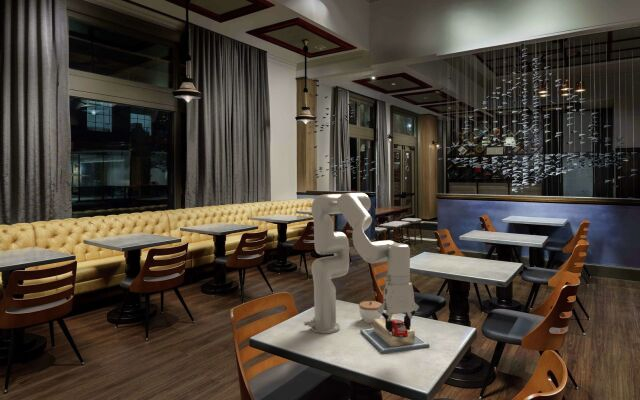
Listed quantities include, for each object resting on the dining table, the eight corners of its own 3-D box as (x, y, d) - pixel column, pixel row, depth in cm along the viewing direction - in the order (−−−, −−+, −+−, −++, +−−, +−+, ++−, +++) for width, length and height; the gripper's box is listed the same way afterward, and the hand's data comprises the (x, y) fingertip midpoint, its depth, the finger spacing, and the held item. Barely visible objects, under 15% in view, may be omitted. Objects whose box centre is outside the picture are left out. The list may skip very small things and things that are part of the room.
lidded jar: (357, 324, 175) (357, 303, 175) (360, 316, 186) (360, 297, 185) (381, 325, 173) (381, 305, 173) (383, 317, 183) (383, 298, 183)
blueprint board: (382, 353, 144) (382, 337, 144) (360, 332, 165) (360, 318, 165) (429, 346, 149) (429, 331, 149) (402, 327, 170) (402, 313, 170)
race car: (387, 324, 142) (387, 314, 142) (402, 325, 142) (402, 314, 141) (392, 339, 129) (392, 328, 128) (409, 339, 128) (409, 328, 128)
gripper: (380, 284, 128) (379, 336, 129) (426, 280, 133) (425, 331, 134) (371, 278, 135) (371, 328, 136) (415, 275, 140) (414, 323, 141)
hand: (398, 329), depth 135 cm, fingers closed on race car, 6 cm apart
